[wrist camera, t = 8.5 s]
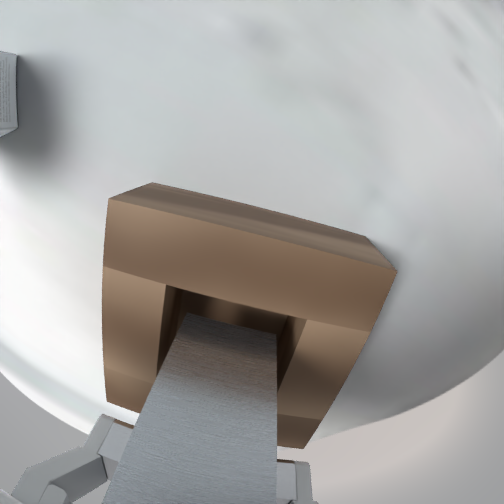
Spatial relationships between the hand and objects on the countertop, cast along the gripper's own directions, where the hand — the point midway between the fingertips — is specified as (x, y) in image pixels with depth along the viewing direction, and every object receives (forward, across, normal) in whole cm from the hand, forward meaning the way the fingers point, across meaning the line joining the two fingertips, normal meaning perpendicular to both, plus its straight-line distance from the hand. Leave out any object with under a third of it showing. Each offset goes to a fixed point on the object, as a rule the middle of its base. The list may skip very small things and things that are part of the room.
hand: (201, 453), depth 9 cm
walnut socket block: (+10, 0, 0) cm, 10 cm away
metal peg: (+6, 0, 0) cm, 6 cm away
